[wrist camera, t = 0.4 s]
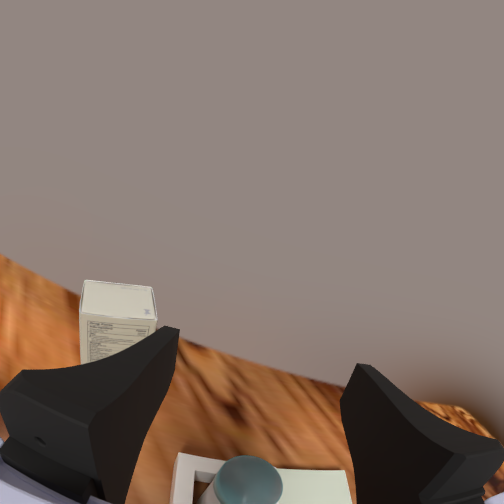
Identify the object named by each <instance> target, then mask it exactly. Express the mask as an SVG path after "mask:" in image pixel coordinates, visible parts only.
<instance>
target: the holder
mask: <svg viewBox="0 0 504 504" xmlns="http://www.w3.org/2000/svg"><path fill="white" fill-rule="evenodd" d="M225 462H227V461H223V460H216V459H211V458H205V457H200V456H194V455H190V454H185V453H180V452H179V453H178V455H177V458H176V460H175V462H174V469H173V477H172V486H171V494H170V503H169V504H192V500H193V487H194V481H200V482H206V483H211V482H212V481H213V480H214V478H215V476H216V474H217V472H218V471H219V470H220V468H221V467H222V465H223V464H224V463H225ZM274 468H275V469H276V467H274ZM276 504H279V501H278V502H277V503H276Z"/></svg>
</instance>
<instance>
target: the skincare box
mask: <svg viewBox="0 0 504 504" xmlns="http://www.w3.org/2000/svg"><path fill="white" fill-rule="evenodd" d="M157 320H158V319H157V312H156V305H155V299H154V293H153V289H152V287H146V286H139V285H128V284H119V283H110V282H101V281H92V280H85V281H84V285H83V290H82V295H81V301H80V309H79V326H80V355H81V364H85V363H89V362H93V361H97V360H100V359H103V358H106V357H108V356H111V355H113V354H116V353H118V352H120V351H122V350H124V349H126V348H128V347H130V346H132V345H134V344H136V343H137V342H139V341H141V340H142V339H144V338H146V337H147V336H149V335H151V334H152V333H154V332H155V330H156V325H157Z"/></svg>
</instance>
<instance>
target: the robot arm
mask: <svg viewBox="0 0 504 504" xmlns="http://www.w3.org/2000/svg"><path fill="white" fill-rule="evenodd" d="M179 331H180V329H176V328H172V327H168V326H163V327H162V328H160V329H158V330H157V331H155V332H154V333H152V334H151V335H149V336H147V337H146V338H144V339H142V340H141V341H139V342H137V343H136V344H134V345H132V346H130V347H128V348H126V349H124V350H122V351H120V352H118V353H116V354H113V355H111V356H108V357H106V358H103V359H100V360H97V361H93V362H89V363H85V364H81V365H77V366H72V367H66V368H58V369H46V370H22V371H21V372H20V373H18V374H17V375H16V376H15V377H14V378H13V379H12V380H11V381H10V382H9V383H8V384H7V385H6V386H5V387H4V388H3V389H2V390H1V392H0V412H1V415H2V418H3V420H4V423H5V425H6V428H7V430H8V433H9V435H10V436H9V438H8V439H7V440H6V441H5V442H4V441H3V440H2V438H1V437H0V504H125V500H126V496H127V493H128V489H129V486H130V482H131V479H132V475H133V472H134V469H135V466H136V463H137V460H138V456H139V454H140V451H141V448H142V445H143V442H144V439H145V436H146V434H147V432H148V430H149V428H150V425H151V423H152V421H153V419H154V417H155V415H156V413H157V411H158V409H159V407H160V405H161V403H162V401H163V399H164V397H165V395H166V393H167V391H168V389H169V386H170V383H171V380H172V377H173V374H174V371H175V363H176V355H177V347H178V339H179ZM340 409H341V418H342V423H343V427H344V431H345V435H346V439H347V443H348V446H349V450H350V454H351V458H352V462H353V467H354V474H355V484H356V498H357V504H504V492H503V493H500V494H498V495H495V496H492V497H490V498H488V499H487V500H485V501H483V499H482V497H481V496H483V495H484V494H485V490H484V488H483V485H484V484H485V483H486V482H487V481H488V480H489V479H490V478H491V477H492V476H493V475H494V474H495V472H496V471H497V470H498V469H499V468H500V466H501V465H502V463H503V461H504V448H503V446H502V445H501V443H500V442H499V441H498V440H496V439H492V438H488V437H484V436H481V435H477V434H474V433H471V432H468V431H466V430H463V429H461V428H458V427H456V426H454V425H452V424H450V423H448V422H446V421H444V420H442V419H440V418H438V417H437V416H435V415H433V414H432V413H430V412H429V411H427V410H425V409H424V408H423V407H421V406H420V405H418V404H417V403H416V402H414V401H413V400H412V399H410V398H409V397H408V396H407V395H405V394H404V393H403V392H402V391H401V390H400V389H398V388H397V387H396V386H395V385H394V384H393V383H391V382H390V381H389V380H388V379H387V378H386V377H385V376H383V375H382V374H381V373H380V372H379V371H378V370H376V369H375V368H374V367H372V366H371V365H366V364H359V363H357V364H356V366H355V369H354V371H353V373H352V376H351V378H350V380H349V382H348V384H347V386H346V388H345V390H344V393H343V395H342V397H341V399H340Z"/></svg>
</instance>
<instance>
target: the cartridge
mask: <svg viewBox="0 0 504 504" xmlns="http://www.w3.org/2000/svg"><path fill="white" fill-rule="evenodd" d="M282 492H283V483H282V479H281V477H280V474H279V473H278V471H277V470H276V469H275V468H274V467H273V466H272V465H271V464H270V463H268V462H267V461H265V460H263V459H261V458H258V457H255V456H248V455H242V456H237V457H234V458H231V459H229V460H228V461H227V462H225V463H224V464H223V465H222V467H221V468H220V470H219V471H218V472H217V474H216V476H215V478H214V480H213V481H212V482H211V484H210V485H209V486H208V488H207V489H206V490H205V491H204V493H203V494H202V495H201V496H200V498H199V499H198V500H197V502H196V504H276V503H277V502H278V501H279V499H280V497H281V495H282Z"/></svg>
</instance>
